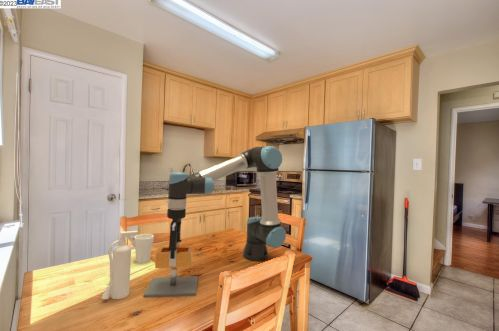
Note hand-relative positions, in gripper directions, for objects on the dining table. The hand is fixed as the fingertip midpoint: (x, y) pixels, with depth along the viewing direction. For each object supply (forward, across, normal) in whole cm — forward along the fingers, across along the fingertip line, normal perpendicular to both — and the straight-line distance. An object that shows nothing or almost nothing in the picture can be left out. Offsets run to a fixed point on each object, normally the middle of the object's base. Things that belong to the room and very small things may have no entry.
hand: (174, 261), depth 100 cm
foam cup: (+11, -28, -20) cm, 36 cm away
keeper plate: (+11, 0, 0) cm, 11 cm away
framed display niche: (+1, 0, 0) cm, 1 cm away
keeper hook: (+10, 0, -1) cm, 10 cm away
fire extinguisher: (+11, +5, -20) cm, 23 cm away
